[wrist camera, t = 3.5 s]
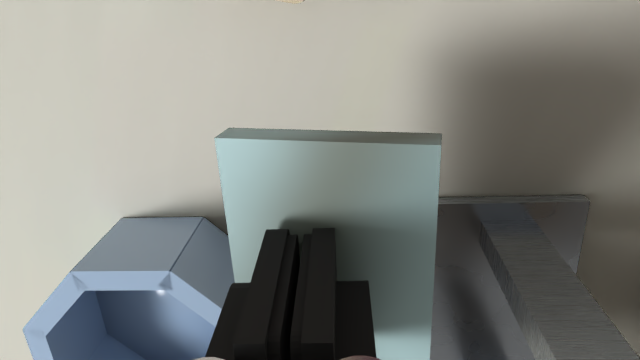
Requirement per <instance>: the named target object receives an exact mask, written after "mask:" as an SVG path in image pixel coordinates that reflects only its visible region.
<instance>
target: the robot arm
mask: <svg viewBox="0 0 640 360" xmlns="http://www.w3.org/2000/svg"><path fill="white" fill-rule="evenodd" d="M193 360H381V359H379V358H377V357H376V347H375V338H374V328H373V319H372V309H371V299H370V290H369V281H368V280H364V281H337V269H336V242H335V228H313V230H312V234H304V238H303V245H302V253H301V260H300V256H299V242H298V235H290V232H289V229H266V231H265V234H264V238H263V241H262V244H261V248H260V251H259V255H258V258H257V262H256V265H255V268H254V272H253V275H252V279H251V282H250V283H232V284H231V286H230V288H229V291H228V293H227V296H226V299H225V302H224V305H223V307H222V310H221V313H220V316H219V319H218V321H217V324H216V327H215V330H214V333H213V336H212V338H211V341H210V344H209V347H208V350H207V352H206V355H205V357H202V358H198V359H193Z"/></svg>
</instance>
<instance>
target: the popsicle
mask: <svg viewBox="0 0 640 360" xmlns="http://www.w3.org/2000/svg"><path fill="white" fill-rule="evenodd" d="M276 1H282V2H288V3H300V2H303V1H304V0H276Z"/></svg>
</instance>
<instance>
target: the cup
mask: <svg viewBox="0 0 640 360" xmlns="http://www.w3.org/2000/svg"><path fill="white" fill-rule="evenodd" d="M232 283H235V280H234V273H233V266H232V259H231V252H230V245H229V238H228V236H227V235H226V234H225V233H224V232H222V231H221V230H220V229H219V228H217V227H216V226H215V225H213V224H212V223H211V222H210V221H208V220H207V219H206V218H203V217H159V218H122V219H120V220H119V221H118V222H117V223H116V224H115V225H114V226H113V228H112V229H111V230H110V231H109V232H108V233H107V234H106V235H105V236H104V237H103V238H102V239H101V240H100V241H99V242H98V243H97V244H96V245H95V246H94V247H93V248H92V249H91V250H90V251H89V252H88V253H87V255H86V256H85V257H84V258H83V259H82V260H81V261H80V262H79V263H78V264H77V265H76V266H75V267H74V268H73V269H72V270H71V271H70V272H69V273H68V275H67V276H66V277H65V278H64V279H63V281H62V282H61V283H60V284H59V286H58V287H57V288H56V289H55V290H54V292H53V293H52V294H51V295H50V296H49V298H48V299H47V300H46V301H45V302H44V304H43V305H42V306H41V307H40V309H39V310H38V311H37V312H36V313H35V315H34V316H33V317H32V318H31V319H30V321H29V322H28V323H27V324H26V325H25V327H24V328H23V332H24V335H25V338H26V340H27V343H28V346H29V349H30V351H31V354H32V357H33V359H34V360H193V359H198V358H202V357H205V355H206V352H207V350H208V347H209V344H210V341H211V338H212V336H213V333H214V330H215V327H216V324H217V321H218V319H219V316H220V313H221V310H222V307H223V305H224V302H225V299H226V296H227V293H228V291H229V288H230V286H231V284H232Z"/></svg>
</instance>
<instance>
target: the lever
mask: <svg viewBox="0 0 640 360" xmlns="http://www.w3.org/2000/svg"><path fill="white" fill-rule="evenodd" d="M441 140H442V134H440V133H403V132H366V131H328V130H291V129H254V128H228V129H227V130H225V131H224V132H222V133H221V134H219V135H218V136H217V137H215V145H216V152H217V160H218V167H219V174H220V181H221V188H222V195H223V202H224V209H225V216H226V223H227V230H228V238H229V245H230V252H231V259H232V266H233V273H234V280H235V283H250V282H251V279H252V275H253V272H254V268H255V265H256V262H257V258H258V255H259V251H260V248H261V244H262V241H263V238H264V234H265V231H266V229H289V232H290V235H298V242H299V256H300V260H301V253H302V245H303V238H304V234H312V230H313V228H335V242H336V269H337V281H364V280H368V281H369V290H370V299H371V309H372V319H373V328H374V338H375V347H376V357H377V358H379V359H381V360H430V344H431V326H432V307H433V289H434V270H435V252H436V233H437V215H438V196H439V178H440V159H441Z"/></svg>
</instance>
